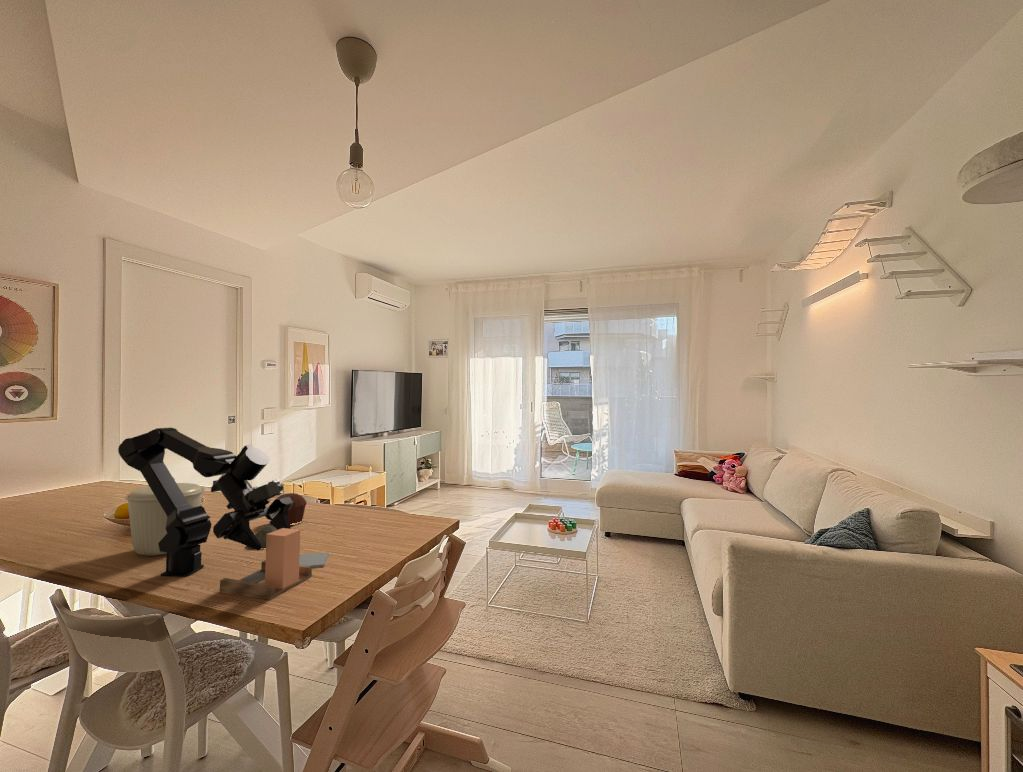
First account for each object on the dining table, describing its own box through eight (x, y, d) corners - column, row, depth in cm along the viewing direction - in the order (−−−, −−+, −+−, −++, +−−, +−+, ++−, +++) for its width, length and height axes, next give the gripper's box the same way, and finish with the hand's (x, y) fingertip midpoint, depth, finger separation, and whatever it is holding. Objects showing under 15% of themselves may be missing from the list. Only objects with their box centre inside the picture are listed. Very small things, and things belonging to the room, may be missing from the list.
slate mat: (286, 569, 111) (286, 567, 111) (293, 557, 119) (293, 555, 119) (323, 566, 113) (323, 564, 113) (328, 554, 122) (328, 552, 122)
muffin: (281, 518, 158) (282, 490, 158) (312, 518, 157) (312, 490, 158) (263, 527, 146) (263, 497, 146) (295, 528, 146) (296, 498, 146)
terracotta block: (264, 586, 100) (266, 534, 100) (281, 577, 104) (282, 528, 105) (282, 589, 98) (284, 536, 99) (298, 580, 103) (300, 529, 103)
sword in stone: (259, 552, 123) (260, 509, 124) (241, 549, 126) (241, 507, 127) (290, 541, 132) (290, 502, 133) (272, 539, 136) (272, 500, 136)
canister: (145, 541, 130) (148, 471, 131) (213, 537, 135) (216, 470, 135) (105, 564, 113) (109, 483, 113) (185, 558, 117) (188, 480, 118)
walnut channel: (219, 591, 98) (219, 580, 98) (265, 570, 110) (265, 559, 110) (270, 600, 94) (270, 588, 94) (311, 576, 107) (312, 565, 107)
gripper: (224, 477, 95) (264, 532, 92) (288, 465, 113) (323, 510, 110) (195, 510, 97) (233, 565, 94) (262, 493, 115) (296, 538, 112)
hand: (275, 542), depth 102 cm, fingers open, 9 cm apart
